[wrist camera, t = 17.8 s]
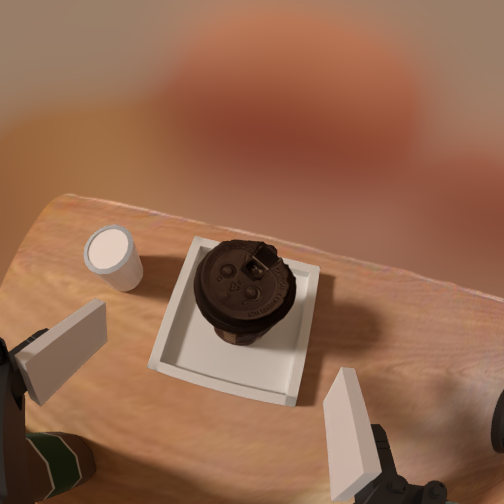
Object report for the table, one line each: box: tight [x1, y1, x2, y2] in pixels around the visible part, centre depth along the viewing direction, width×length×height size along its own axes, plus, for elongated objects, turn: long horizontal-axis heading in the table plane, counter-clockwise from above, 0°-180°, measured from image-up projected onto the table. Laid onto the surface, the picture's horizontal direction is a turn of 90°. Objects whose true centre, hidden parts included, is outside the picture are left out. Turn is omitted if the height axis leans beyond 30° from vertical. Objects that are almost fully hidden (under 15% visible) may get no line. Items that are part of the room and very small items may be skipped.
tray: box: [147, 236, 320, 407], centre depth 32 cm, size 17×18×2 cm
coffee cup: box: [193, 239, 297, 346], centre depth 27 cm, size 9×8×13 cm
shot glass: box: [83, 225, 143, 292], centre depth 32 cm, size 7×7×7 cm
